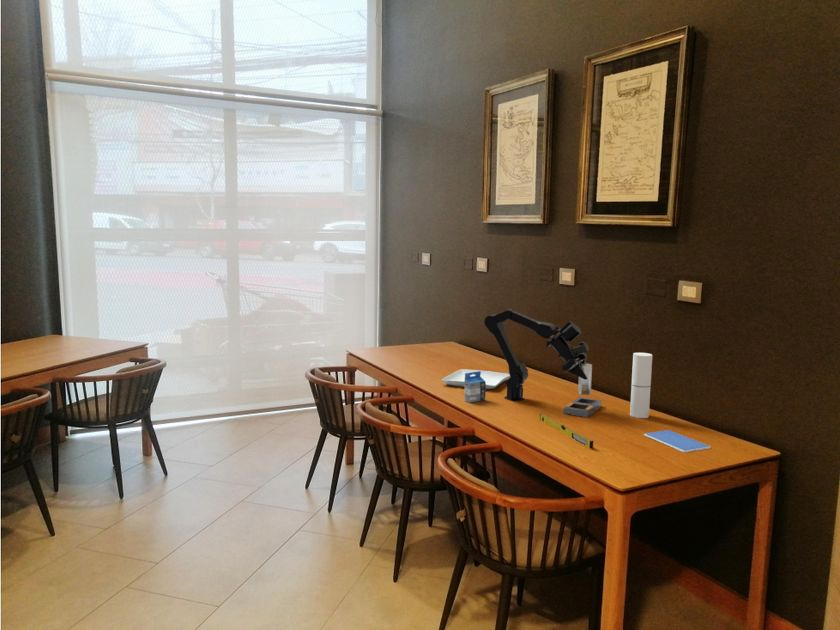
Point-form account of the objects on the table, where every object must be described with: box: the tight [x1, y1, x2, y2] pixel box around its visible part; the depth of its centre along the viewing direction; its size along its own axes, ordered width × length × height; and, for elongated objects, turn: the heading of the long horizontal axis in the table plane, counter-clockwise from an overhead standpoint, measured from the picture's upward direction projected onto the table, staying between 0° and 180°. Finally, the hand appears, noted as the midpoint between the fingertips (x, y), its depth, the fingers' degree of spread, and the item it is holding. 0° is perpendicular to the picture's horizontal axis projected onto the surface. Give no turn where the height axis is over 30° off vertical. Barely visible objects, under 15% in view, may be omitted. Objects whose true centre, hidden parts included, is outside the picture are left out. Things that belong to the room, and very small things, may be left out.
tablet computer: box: [643, 429, 712, 453], centre depth 218 cm, size 19×13×1 cm, turn 23°
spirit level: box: [539, 413, 594, 449], centre depth 225 cm, size 33×1×3 cm, turn 19°
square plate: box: [441, 368, 510, 390], centre depth 301 cm, size 27×27×4 cm
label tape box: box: [464, 370, 486, 404], centre depth 268 cm, size 9×4×12 cm, turn 123°
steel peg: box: [577, 362, 593, 396], centre depth 255 cm, size 5×5×12 cm
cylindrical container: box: [629, 352, 653, 419], centre depth 247 cm, size 7×7×25 cm
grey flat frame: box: [563, 396, 602, 418], centre depth 256 cm, size 20×10×3 cm, turn 148°
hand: (588, 377), depth 255 cm, fingers closed on steel peg, 5 cm apart
